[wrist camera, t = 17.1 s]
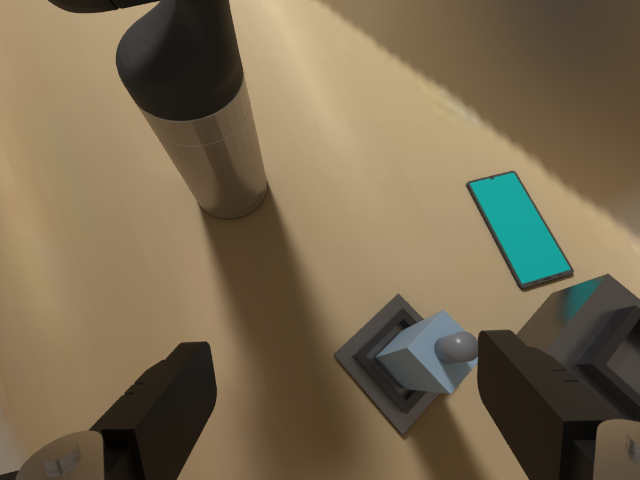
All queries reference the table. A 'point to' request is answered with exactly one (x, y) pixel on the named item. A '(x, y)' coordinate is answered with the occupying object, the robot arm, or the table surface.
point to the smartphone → (519, 229)
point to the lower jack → (370, 374)
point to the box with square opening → (594, 339)
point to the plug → (430, 355)
